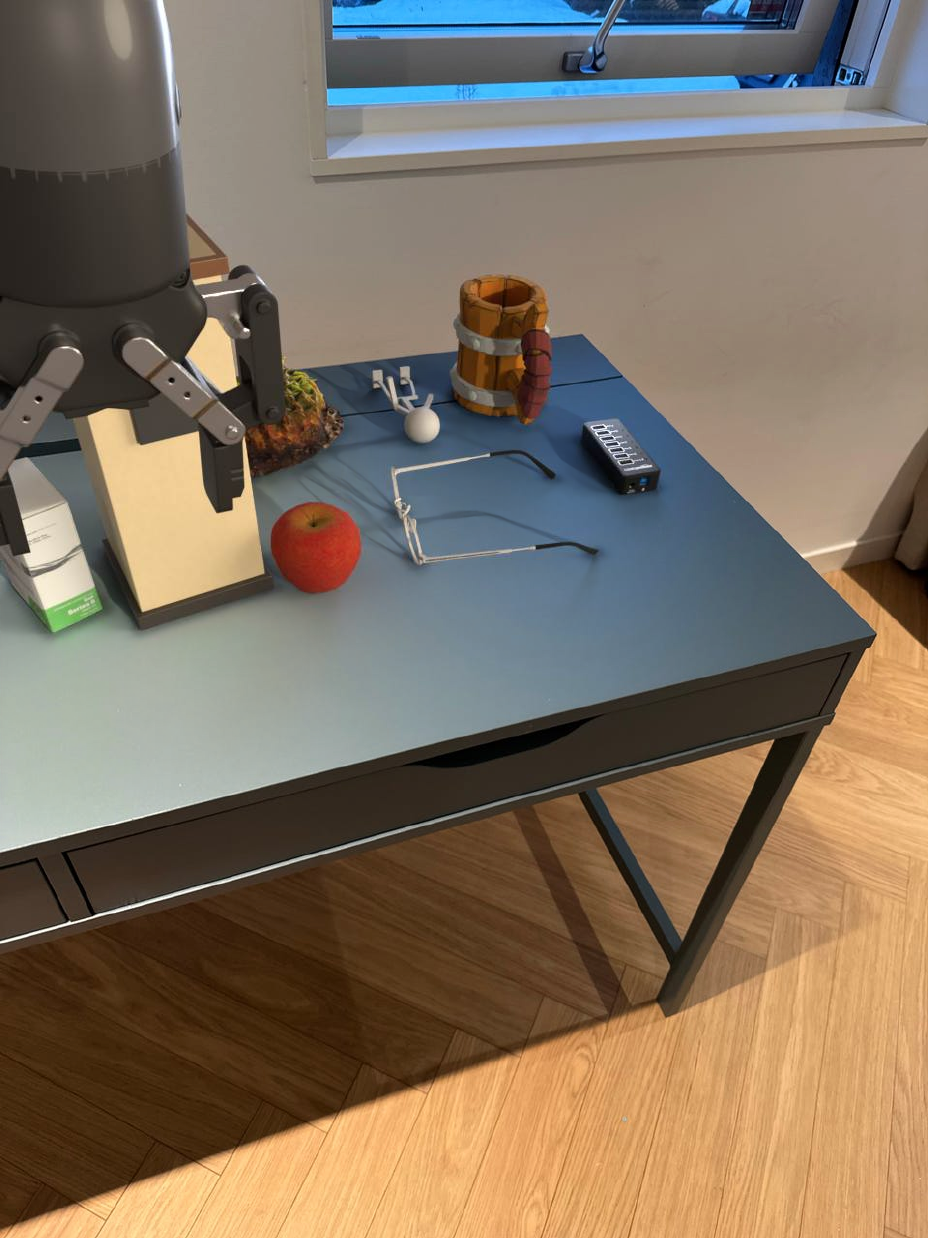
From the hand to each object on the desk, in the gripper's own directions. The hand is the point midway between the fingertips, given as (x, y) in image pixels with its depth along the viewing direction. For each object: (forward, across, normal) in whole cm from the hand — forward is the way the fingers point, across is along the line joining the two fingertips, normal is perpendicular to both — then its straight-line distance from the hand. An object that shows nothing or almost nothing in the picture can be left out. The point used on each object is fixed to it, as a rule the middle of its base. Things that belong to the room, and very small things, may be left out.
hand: (122, 521), depth 40 cm
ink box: (+32, +2, -32) cm, 45 cm away
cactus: (+31, -24, -49) cm, 63 cm away
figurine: (+30, -40, -46) cm, 68 cm away
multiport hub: (+28, -56, -28) cm, 68 cm away
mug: (+29, -51, -44) cm, 73 cm away
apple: (+30, -20, -24) cm, 43 cm away
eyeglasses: (+29, -38, -24) cm, 53 cm away
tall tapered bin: (+31, -10, -31) cm, 45 cm away
